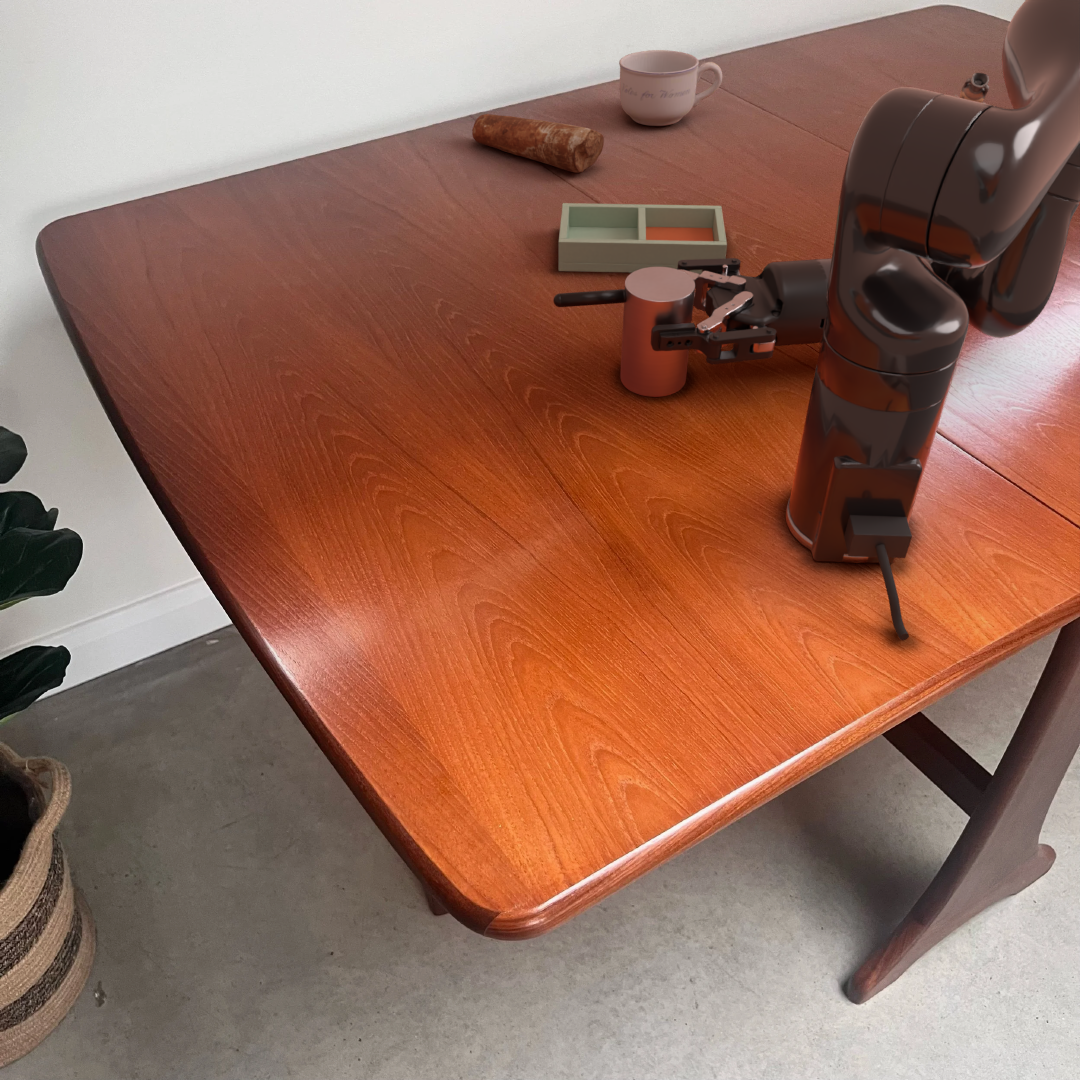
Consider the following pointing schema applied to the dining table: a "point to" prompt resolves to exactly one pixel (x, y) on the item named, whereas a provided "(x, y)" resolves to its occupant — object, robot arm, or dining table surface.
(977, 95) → the vase
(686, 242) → the divided box
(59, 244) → the dining table surface
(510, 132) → the bread
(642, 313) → the handled metal cylinder
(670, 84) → the teacup
